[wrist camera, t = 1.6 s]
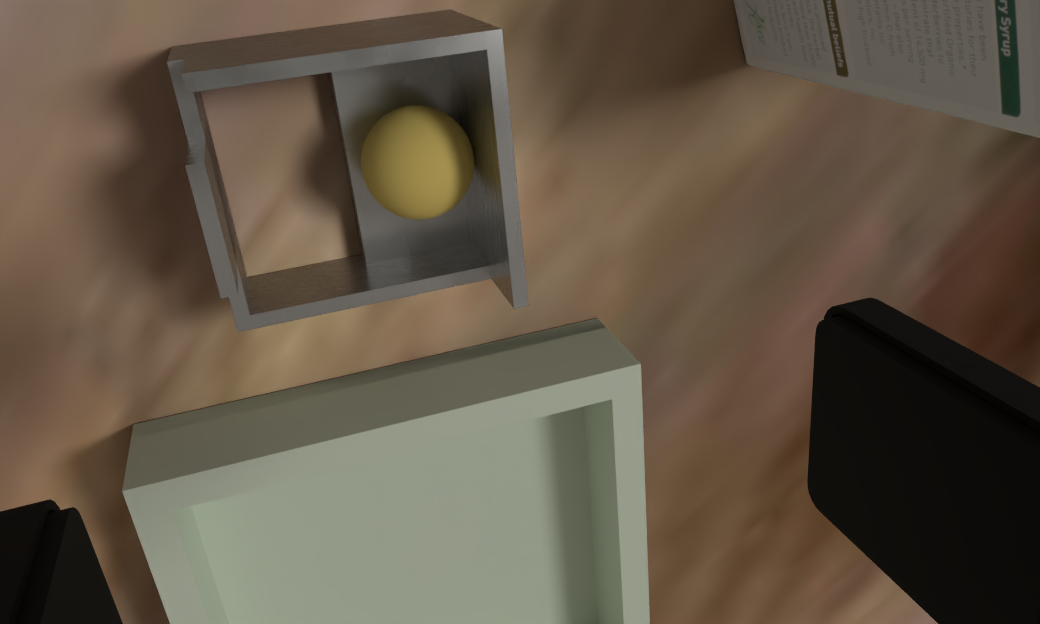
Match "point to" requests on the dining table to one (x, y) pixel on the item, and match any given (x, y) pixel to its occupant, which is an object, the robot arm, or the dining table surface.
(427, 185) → the ball
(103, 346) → the dining table surface
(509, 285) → the open shelf cabinet
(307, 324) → the dining table surface
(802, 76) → the syrup box
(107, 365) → the dining table surface
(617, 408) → the tray
